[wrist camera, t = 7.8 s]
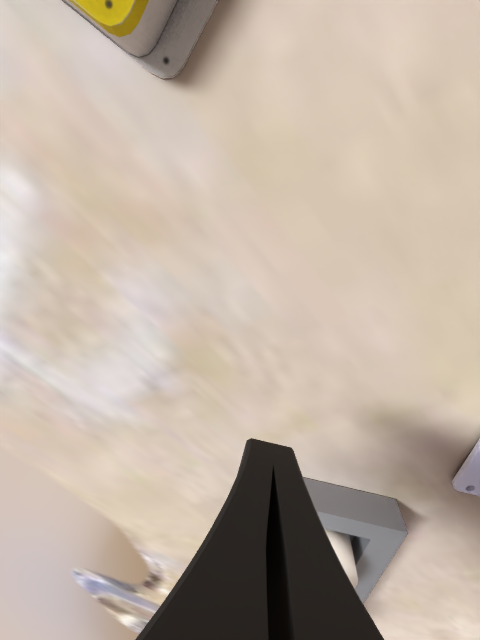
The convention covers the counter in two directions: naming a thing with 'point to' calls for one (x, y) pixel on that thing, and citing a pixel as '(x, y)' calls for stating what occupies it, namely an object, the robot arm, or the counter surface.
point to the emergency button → (150, 28)
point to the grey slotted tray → (361, 527)
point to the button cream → (344, 553)
